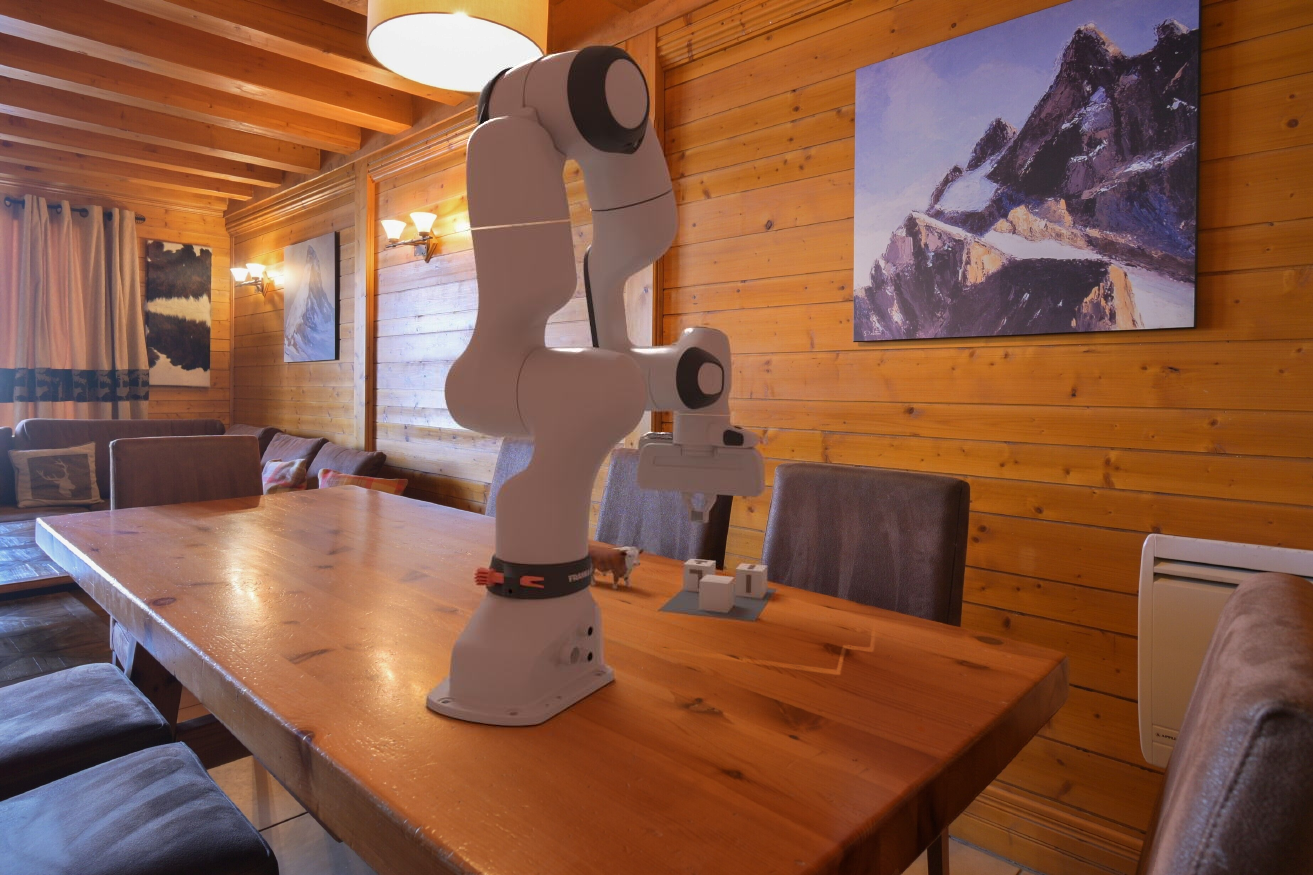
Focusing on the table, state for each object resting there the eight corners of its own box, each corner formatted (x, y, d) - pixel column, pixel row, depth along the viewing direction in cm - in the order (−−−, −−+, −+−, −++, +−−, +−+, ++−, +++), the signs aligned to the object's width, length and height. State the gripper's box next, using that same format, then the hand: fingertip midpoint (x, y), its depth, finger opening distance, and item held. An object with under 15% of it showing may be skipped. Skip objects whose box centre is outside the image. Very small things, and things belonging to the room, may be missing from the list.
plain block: (727, 612, 112) (727, 583, 112) (698, 609, 114) (699, 580, 114) (733, 605, 117) (734, 577, 116) (706, 602, 118) (706, 574, 118)
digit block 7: (708, 593, 124) (709, 565, 123) (682, 590, 125) (683, 563, 125) (715, 586, 128) (715, 560, 128) (690, 583, 129) (690, 557, 129)
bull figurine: (634, 598, 122) (635, 550, 121) (574, 585, 130) (575, 539, 129) (650, 593, 125) (651, 545, 125) (591, 580, 133) (592, 535, 133)
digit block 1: (761, 598, 121) (762, 570, 120) (734, 595, 122) (735, 568, 122) (766, 591, 125) (767, 564, 125) (740, 589, 127) (741, 562, 126)
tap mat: (754, 625, 108) (754, 621, 108) (657, 614, 113) (657, 610, 113) (776, 591, 127) (776, 588, 127) (692, 583, 132) (692, 580, 132)
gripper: (631, 431, 115) (628, 519, 116) (761, 436, 109) (757, 529, 109) (645, 430, 121) (642, 514, 122) (769, 435, 115) (765, 524, 115)
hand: (698, 521), depth 115 cm, fingers closed
